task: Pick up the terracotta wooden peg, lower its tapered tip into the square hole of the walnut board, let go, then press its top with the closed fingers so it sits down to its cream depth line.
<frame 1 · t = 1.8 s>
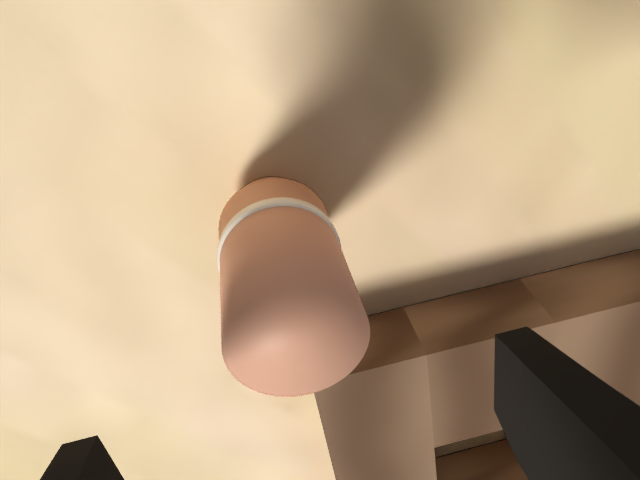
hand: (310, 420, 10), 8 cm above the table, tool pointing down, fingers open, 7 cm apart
board: (509, 391, 23), on the table
peg: (271, 212, 17), on the table
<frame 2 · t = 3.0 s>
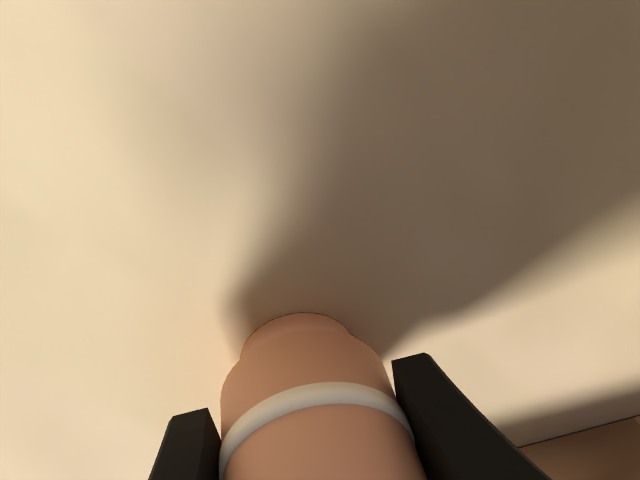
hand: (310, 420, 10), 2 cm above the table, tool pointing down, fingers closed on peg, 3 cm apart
peg: (298, 358, 11), on the table, touching gripper
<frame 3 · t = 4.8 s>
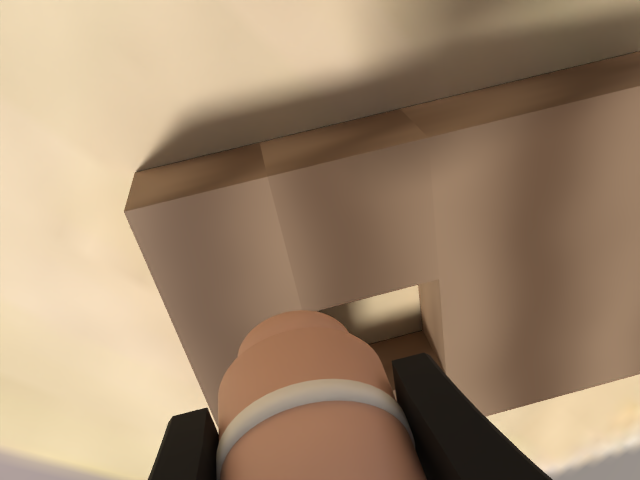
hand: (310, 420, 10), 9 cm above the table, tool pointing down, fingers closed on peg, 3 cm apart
board: (411, 267, 20), on the table
peg: (296, 356, 11), point 7 cm above the table, touching gripper
when the fingers open (4 cm above the table, at t = 6.7 s): peg drops 2 cm, resting in board.
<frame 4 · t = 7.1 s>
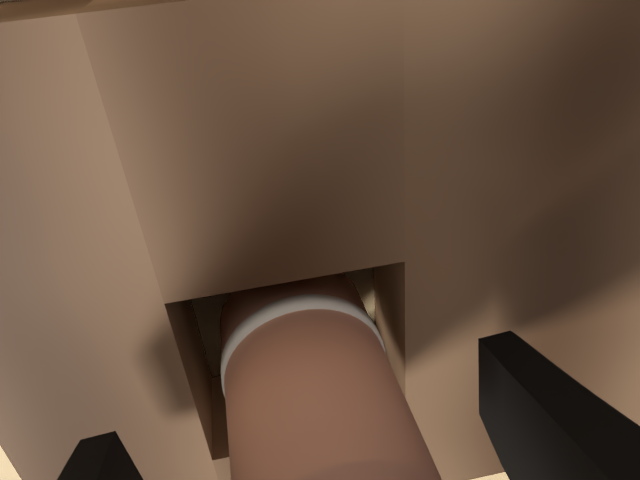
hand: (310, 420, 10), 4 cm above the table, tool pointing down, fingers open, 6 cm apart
board: (364, 247, 13), on the table
peg: (285, 294, 13), resting in board
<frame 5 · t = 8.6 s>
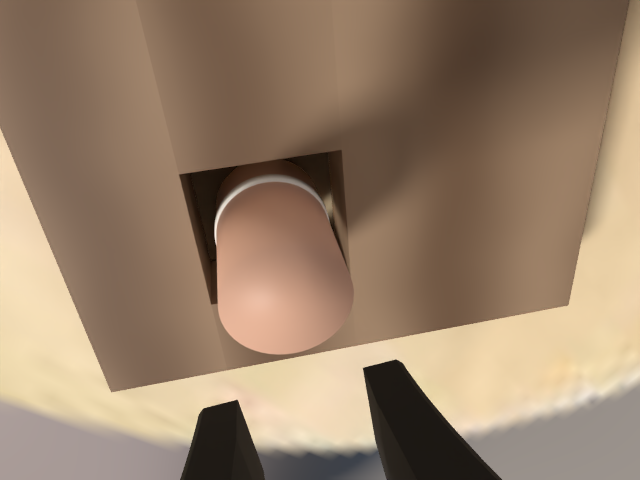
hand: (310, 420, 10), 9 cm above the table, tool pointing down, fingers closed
board: (322, 156, 17), on the table
peg: (265, 192, 18), resting in board
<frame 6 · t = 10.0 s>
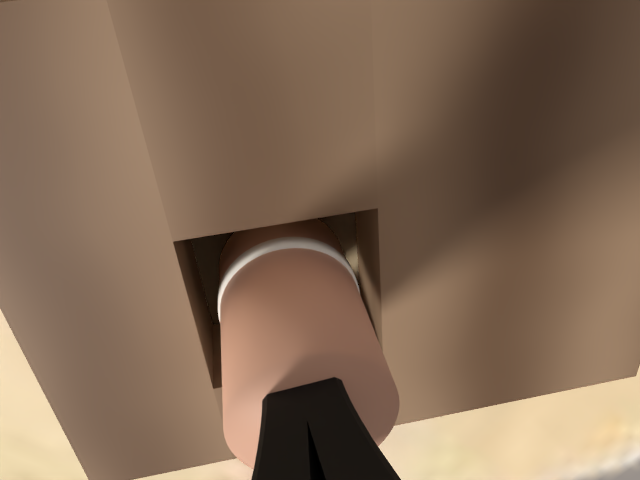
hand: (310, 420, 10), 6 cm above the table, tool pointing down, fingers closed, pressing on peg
board: (347, 205, 14), on the table
peg: (278, 246, 15), resting in board, touching gripper
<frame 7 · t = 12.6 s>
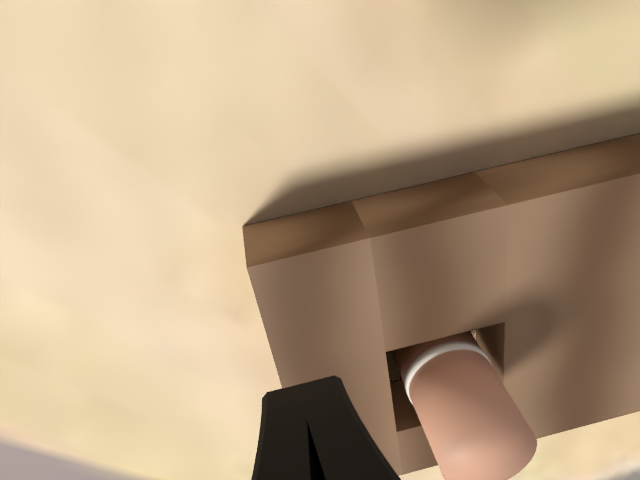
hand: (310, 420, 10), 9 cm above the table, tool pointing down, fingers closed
board: (471, 305, 22), on the table
peg: (425, 334, 22), resting in board
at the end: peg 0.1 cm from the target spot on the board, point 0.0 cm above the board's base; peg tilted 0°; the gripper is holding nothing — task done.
